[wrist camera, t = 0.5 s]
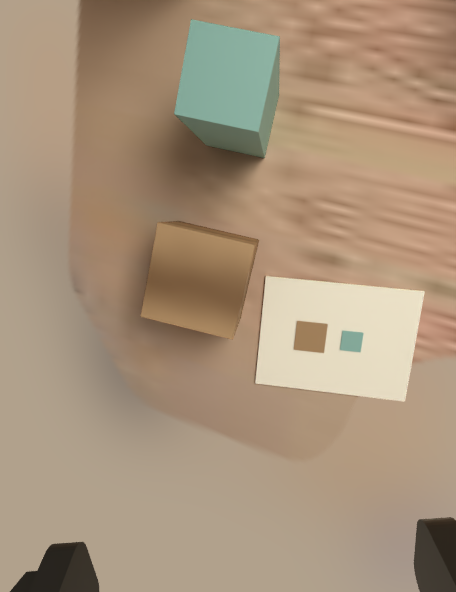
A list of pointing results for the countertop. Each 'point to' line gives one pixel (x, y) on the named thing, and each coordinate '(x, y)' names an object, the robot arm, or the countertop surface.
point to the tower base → (198, 278)
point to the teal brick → (229, 87)
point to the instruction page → (338, 337)
